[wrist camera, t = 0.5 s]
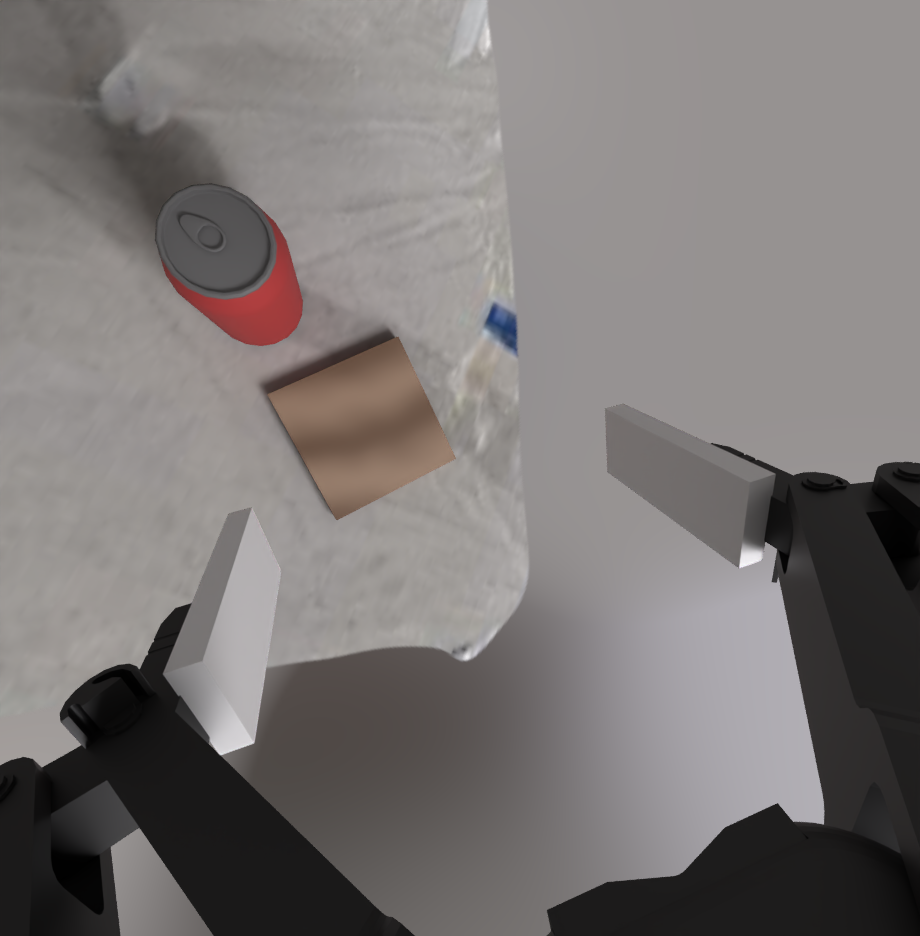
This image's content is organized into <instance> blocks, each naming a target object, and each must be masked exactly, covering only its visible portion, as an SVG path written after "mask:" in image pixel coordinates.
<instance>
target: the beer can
mask: <svg viewBox="0 0 920 936" xmlns="http://www.w3.org/2000/svg"><path fill="white" fill-rule="evenodd" d="M155 241H156V244H157V247H158V251H159V254H160V258H161V261H162V264H163V268H164V271H165V273H166V276H167V277H168V279H169V280H170V282H171V283H172V285H173V286H174V288H175V289H176V291H177V292H178V293H179V294H180V295H181V296H182V297H183V298H185V299H186V300H187V301H188V302H189V303H191V304H192V305H193V306H194V307H195V308H197V309H198V310H199V311H200V312H202V313H203V314H204V315H205V316H206V317H208V318H209V319H210V320H211V321H212V322H214V323H215V324H216V325H217V326H219V327H220V328H221V329H222V330H223V331H225V332H226V333H227V334H228V335H230V336H231V337H232V338H234V339H236V340H238V341H241V342H243V343H245V344H250V345H258V346H264V345H270V344H275V343H277V342H279V341H281V340H283V339H285V338H287V337H288V336H289V335H290V334H291V333H292V332H293V331H294V330H295V328H296V327H297V325H298V323H299V321H300V318H301V316H302V306H303V300H302V296H301V292H300V288H299V285H298V281H297V277H296V274H295V270H294V267H293V263H292V259H291V256H290V252H289V249H288V245H287V241H286V239H285V238H284V236H283V234H282V233H281V231H280V229H279V228H278V226H277V224H276V223H275V222H274V221H273V220H272V219H271V218H270V217H269V216H268V215H267V214H266V213H265V212H264V211H263V210H262V209H261V208H260V207H258V206H257V205H256V204H255V203H254V202H253V201H252V200H250V199H249V198H248V197H247V196H245V195H243V194H241V193H239V192H237V191H236V190H234V189H232V188H230V187H225V186H220V185H216V184H200V185H191V186H189V187H187V188H185V189H182V190H180V191H178V192H176V193H175V194H174V195H173V196H172V197H171V198H170V199H169V200H168V201H167V202H166V203H165V204H164V205H163V206H162V208H161V211H160V213H159V215H158V218H157V220H156V233H155Z"/></svg>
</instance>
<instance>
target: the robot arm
mask: <svg viewBox="0 0 920 936" xmlns="http://www.w3.org/2000/svg"><path fill="white" fill-rule="evenodd" d="M605 418H606V446H607V472H608V473H610V474H611V475H612V476H614V477H615V478H616V479H618V480H619V481H620V482H622V483H623V484H624V485H626V486H627V487H628V488H630V489H631V490H633V491H634V492H635V493H637V494H638V495H640V496H641V497H642V498H643V499H645V500H646V501H648V502H649V503H650V504H652V505H653V506H654V507H656V508H657V509H659V510H660V511H661V512H663V513H664V514H666V515H667V516H668V517H669V518H671V519H673V520H674V521H675V522H676V523H678V524H679V525H680V526H682V527H683V528H684V529H686V530H687V531H689V532H690V533H691V534H693V535H694V536H695V537H697V538H698V539H699V540H701V541H702V542H704V543H705V544H706V545H708V546H709V547H710V548H712V549H713V550H715V551H716V552H717V553H719V554H720V555H721V556H723V557H724V558H725V559H727V560H728V561H730V562H731V563H732V564H734V565H735V566H736V567H738V568H742V567H745V566H747V565H750V564H753V563H755V562H758V561H761V560H763V553H764V546H765V542H767V543H768V544H770V545H772V546H773V547H775V548H776V549H777V555H776V560H775V566H774V572H773V578H772V582H777V579H778V577H779V581H780V586H781V590H782V595H783V600H784V605H785V610H786V615H787V620H788V625H789V630H790V635H791V640H792V644H793V649H794V655H795V659H796V665H797V669H798V674H799V679H800V684H801V689H802V693H803V699H804V704H805V709H806V714H807V719H808V724H809V729H810V734H811V738H812V743H813V749H814V753H815V758H816V763H817V768H818V773H819V778H820V783H821V787H822V793H823V799H824V810H825V812H824V814H825V815H824V825H822V824H817V823H808V822H793V821H792V820H791V819H790V818H789V816H788V815H787V814H786V813H785V812H784V810H783V809H782V808H781V807H780V806H779V804H778V803H777V804H775V805H773V806H771V807H768V808H766V809H764V810H762V811H760V812H758V813H756V814H753V815H751V816H749V817H747V818H745V819H743V820H740V821H738V822H736V823H734V824H732V825H730V826H727V827H725V828H724V829H723V830H722V831H721V832H720V834H718V836H717V837H716V838H715V839H714V840H713V841H712V842H711V843H710V844H709V845H708V846H707V847H706V849H704V850H703V852H702V853H701V854H700V855H699V856H698V857H697V858H696V859H695V860H694V861H693V862H692V863H691V864H690V866H689V867H688V868H687V869H686V870H685V871H684V872H683V873H681V874H680V875H677V876H671V877H660V878H649V879H637V880H627V881H615V882H607V883H604V884H603V885H600V886H598V887H596V888H594V889H591V890H589V891H587V892H585V893H583V894H581V895H579V896H576V897H574V898H572V899H570V900H568V901H566V902H563V903H562V904H559V905H557V906H555V907H553V908H551V909H548V910H547V913H548V918H549V922H550V927H551V932H550V933H549V934H548V935H547V936H920V463H912V462H893V463H886V464H883V465H881V466H879V467H878V468H877V471H876V474H875V478H874V482H866V483H857V484H850V483H849V482H848V481H846V480H844V479H842V478H840V477H838V476H834V475H830V474H826V473H817V472H806V473H800V474H796V475H794V476H793V475H791V474H789V473H787V472H784V471H782V470H780V469H778V468H775V467H773V466H771V465H769V464H767V463H764V462H762V461H760V460H755V458H753V457H751V456H749V455H744V453H742V452H739V451H737V450H735V449H733V448H731V447H727V446H722V445H718V444H713V443H711V444H710V443H707V442H705V441H703V440H701V439H699V438H697V437H694V436H692V435H690V434H688V433H685V432H684V431H681V430H679V429H677V428H675V427H673V426H671V425H668V424H666V423H664V422H662V421H660V420H657V419H655V418H653V417H651V416H649V415H646V414H644V413H642V412H640V411H638V410H636V409H634V408H631V407H629V406H627V405H625V404H620V405H616V406H613V407H609V408H606V409H605ZM280 577H281V569H280V567H279V565H278V563H277V561H276V558H275V556H274V554H273V552H272V550H271V548H270V545H269V543H268V541H267V539H266V537H265V534H264V532H263V530H262V528H261V526H260V524H259V521H258V519H257V517H256V515H255V513H254V510H253V508H252V507H251V508H247V509H244V510H240V511H237V512H233V513H230V514H228V516H227V518H226V521H225V523H224V526H223V528H222V531H221V533H220V536H219V538H218V540H217V543H216V545H215V548H214V550H213V553H212V555H211V558H210V560H209V562H208V565H207V567H206V570H205V572H204V575H203V577H202V580H201V582H200V584H199V587H198V589H197V592H196V594H195V597H194V599H193V601H192V603H191V604H188V605H184V606H181V607H178V608H175V609H174V610H173V612H172V613H171V614H170V615H169V616H168V617H167V618H166V619H165V620H164V621H163V623H162V624H161V625H160V628H159V630H158V632H157V634H156V636H155V638H154V642H153V643H152V645H151V647H150V649H149V651H148V655H147V656H146V657H145V659H144V662H143V664H142V666H141V668H140V670H139V669H138V667H137V666H134V665H132V664H123V665H117V666H114V667H112V668H109V669H106V670H104V671H102V672H101V673H99V674H97V675H95V676H94V677H92V678H90V679H89V680H88V681H86V682H85V683H84V684H83V685H81V686H80V687H79V688H78V689H77V690H75V692H74V693H73V694H72V695H71V696H70V697H69V698H68V700H67V701H66V702H65V704H64V706H63V708H62V710H61V712H60V720H61V723H62V724H63V725H64V726H65V727H66V728H67V729H68V730H69V732H70V733H71V734H72V735H73V736H74V737H75V738H76V739H77V740H78V741H79V742H80V744H81V746H79V747H78V748H76V749H74V750H73V751H71V752H69V753H67V754H65V755H64V756H62V757H60V758H58V759H57V760H55V761H53V762H51V763H49V764H48V765H46V766H44V767H42V768H41V767H40V766H39V765H38V764H37V763H36V762H35V761H34V760H33V759H30V758H26V757H22V758H18V759H14V760H10V761H8V762H6V763H4V764H2V765H0V936H120V928H119V919H118V910H117V901H116V892H115V883H114V874H113V865H112V856H111V846H112V845H114V844H115V843H117V842H118V841H120V840H121V839H123V838H124V837H126V836H127V835H129V834H130V833H132V832H133V831H135V830H136V829H138V828H140V829H141V830H142V832H143V833H144V835H145V836H146V838H147V839H148V841H149V842H150V844H151V845H152V846H153V848H154V849H155V851H156V852H157V854H158V855H159V857H160V858H161V860H162V861H163V863H164V864H165V865H166V867H167V868H168V870H169V871H170V873H171V874H172V876H173V877H174V879H175V880H176V882H177V883H178V884H179V886H180V887H181V889H182V890H183V892H184V893H185V894H186V896H187V898H188V899H189V900H190V902H191V903H192V905H193V906H194V908H195V909H196V911H197V912H198V914H199V915H200V916H201V918H202V919H203V921H204V922H205V924H206V925H207V927H208V928H209V929H210V931H211V932H212V934H213V935H214V936H414V935H413V934H412V933H411V932H410V931H409V930H408V929H406V928H405V927H404V926H403V925H402V924H401V923H400V922H398V921H397V920H396V919H394V918H393V917H388V916H386V915H384V914H383V913H382V912H381V911H379V909H377V908H376V907H375V906H374V905H373V904H372V903H371V902H370V901H369V900H368V899H367V898H366V897H365V896H364V895H363V894H362V893H361V892H360V891H359V890H358V889H357V888H356V887H355V886H354V885H353V884H352V883H351V882H350V881H349V880H348V879H347V878H345V877H344V876H343V875H342V874H341V873H340V872H339V871H338V870H337V869H336V868H335V867H334V866H333V865H332V864H331V863H330V862H329V861H328V860H327V859H326V858H325V857H324V856H323V855H322V854H321V853H320V852H319V851H318V850H317V849H316V848H315V847H313V845H312V844H311V843H310V842H309V841H308V840H307V839H305V838H304V837H303V836H302V835H301V834H300V833H299V832H298V831H297V830H296V829H295V828H294V827H293V826H292V825H291V824H290V823H289V822H288V821H287V820H286V819H285V818H284V817H283V816H282V815H281V814H280V813H279V812H278V811H277V810H276V809H275V808H274V807H273V806H272V805H271V804H270V803H269V802H268V801H266V800H265V799H264V798H263V797H262V796H261V795H260V794H259V793H258V792H257V791H256V790H255V789H254V788H253V787H252V786H251V785H250V784H249V783H248V782H247V781H246V780H245V779H244V778H243V777H242V776H241V775H240V774H239V773H238V772H237V771H236V770H235V769H234V768H233V767H232V766H231V765H230V764H229V763H228V762H227V761H225V760H224V759H223V758H222V757H221V756H220V755H222V754H225V753H228V752H231V751H234V750H236V749H239V748H242V747H245V746H248V745H250V744H253V743H254V742H255V736H256V729H257V723H258V716H259V710H260V704H261V697H262V691H263V685H264V678H265V671H266V666H267V659H268V653H269V647H270V640H271V634H272V627H273V621H274V615H275V608H276V602H277V596H278V589H279V583H280ZM209 740H210V742H211V743H212V745H213V746H214V748H215V749H216V750H217V752H218V753H219V754H218V753H217V752H216V751H215V750H214V749H213V748H212V747H211V746H210V745H209V744H208V743H209Z"/></svg>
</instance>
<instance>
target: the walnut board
mask: <svg viewBox="0 0 920 936" xmlns="http://www.w3.org/2000/svg"><path fill="white" fill-rule="evenodd" d="M267 395H268V397H269V398H270V400H271V402H272V404H273V406H274V408H275V409H276V411H277V413H278V415H279V417H280V418H281V420H282V422H283V424H284V426H285V428H286V429H287V431H288V433H289V435H290V437H291V438H292V440H293V442H294V444H295V446H296V448H297V449H298V451H299V453H300V455H301V457H302V458H303V460H304V462H305V464H306V466H307V468H308V469H309V471H310V473H311V475H312V477H313V478H314V480H315V482H316V484H317V486H318V488H319V489H320V491H321V493H322V495H323V497H324V498H325V500H326V502H327V504H328V506H329V508H330V509H331V511H332V513H333V515H334V517H335V518H336V520H338V519H340V518H342V517H344V516H346V515H348V514H350V513H352V512H354V511H356V510H358V509H360V508H361V507H363V506H365V505H367V504H369V503H371V502H373V501H375V500H377V499H379V498H381V497H383V496H385V495H387V494H389V493H390V492H392V491H394V490H396V489H398V488H400V487H402V486H404V485H406V484H408V483H410V482H412V481H414V480H416V479H418V478H419V477H421V476H423V475H425V474H427V473H429V472H431V471H433V470H435V469H437V468H439V467H441V466H443V465H445V464H447V463H448V462H450V461H452V460H454V459H456V458H455V456H454V453H453V451H452V449H451V447H450V445H449V443H448V441H447V439H446V437H445V434H444V432H443V430H442V428H441V426H440V424H439V422H438V420H437V417H436V415H435V413H434V411H433V409H432V407H431V405H430V403H429V400H428V398H427V396H426V394H425V392H424V390H423V388H422V386H421V384H420V381H419V379H418V377H417V375H416V373H415V371H414V369H413V367H412V364H411V362H410V360H409V358H408V356H407V354H406V352H405V350H404V348H403V345H402V343H401V341H400V339H399V337H396V338H393V339H391V340H389V341H387V342H384V343H382V344H380V345H378V346H375V347H373V348H371V349H369V350H366V351H364V352H362V353H360V354H357V355H355V356H353V357H351V358H348V359H346V360H344V361H342V362H339V363H337V364H335V365H333V366H330V367H328V368H326V369H324V370H321V371H319V372H317V373H315V374H312V375H310V376H308V377H306V378H303V379H301V380H299V381H297V382H294V383H292V384H290V385H288V386H285V387H283V388H281V389H279V390H276V391H274V392H272V393H270V394H267Z"/></svg>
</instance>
